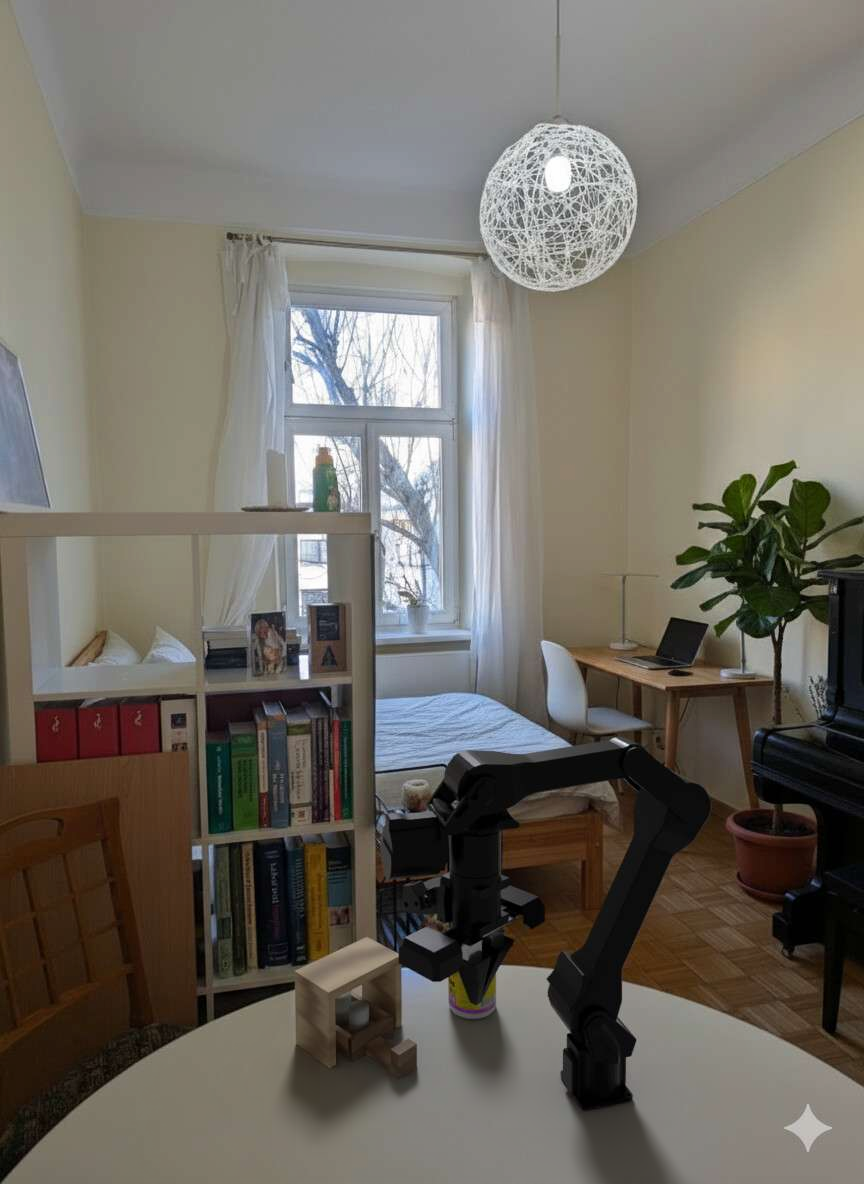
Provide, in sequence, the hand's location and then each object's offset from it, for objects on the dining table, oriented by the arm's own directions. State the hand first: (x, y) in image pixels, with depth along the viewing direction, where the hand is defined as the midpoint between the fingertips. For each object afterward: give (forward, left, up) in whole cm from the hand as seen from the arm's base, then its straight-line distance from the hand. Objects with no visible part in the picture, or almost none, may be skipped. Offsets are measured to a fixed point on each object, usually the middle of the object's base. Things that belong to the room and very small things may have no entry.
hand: (475, 1002), depth 90 cm
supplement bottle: (-6, -19, -13) cm, 24 cm away
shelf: (+11, -18, -13) cm, 25 cm away
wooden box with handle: (+10, -15, -13) cm, 22 cm away
